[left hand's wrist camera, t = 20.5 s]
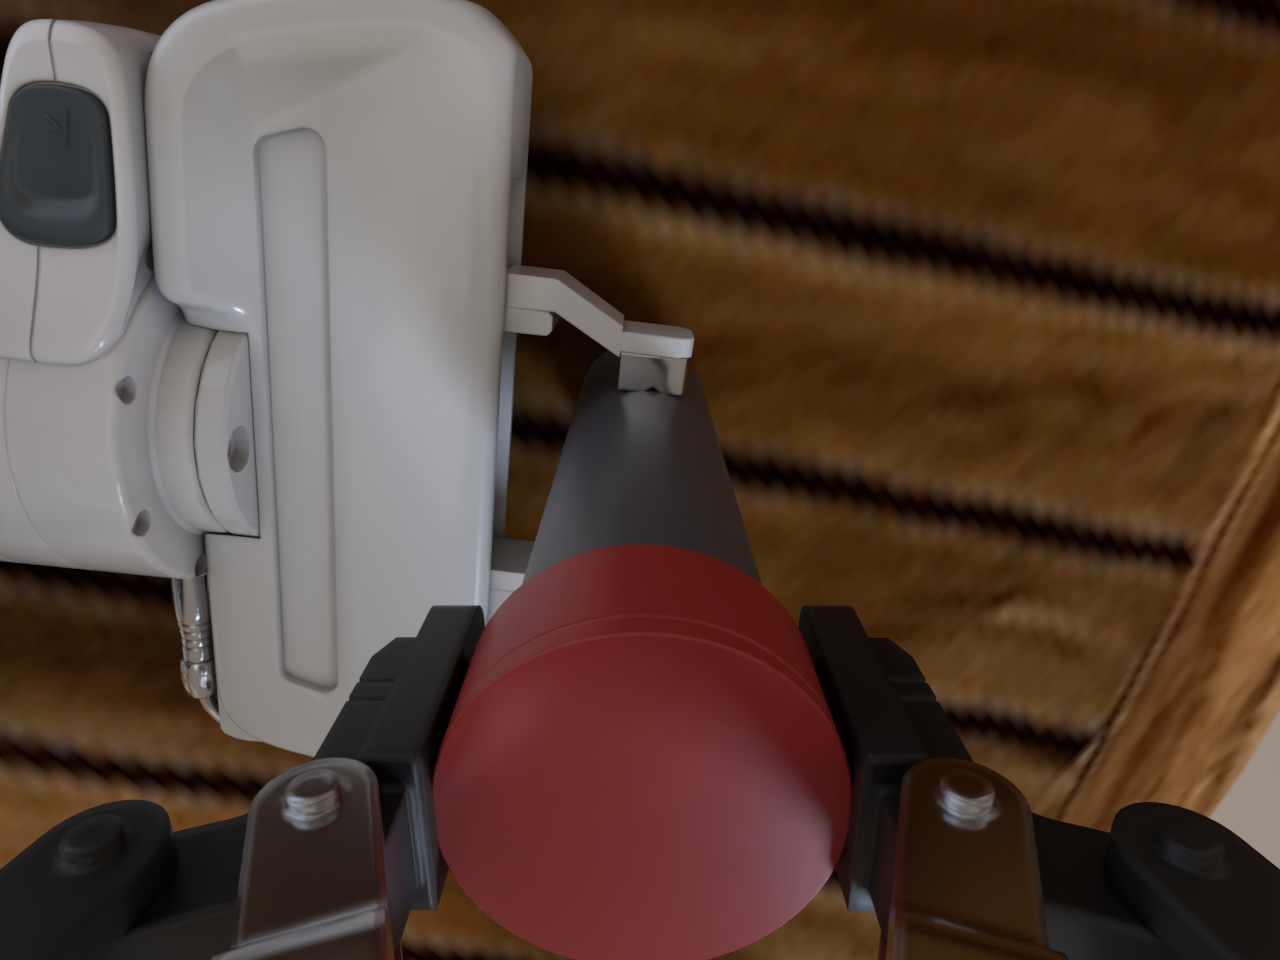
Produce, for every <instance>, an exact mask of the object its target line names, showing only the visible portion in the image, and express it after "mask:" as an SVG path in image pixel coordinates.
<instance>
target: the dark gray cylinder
mask: <svg viewBox="0 0 1280 960" xmlns="http://www.w3.org/2000/svg"><path fill="white" fill-rule="evenodd" d="M620 360H621V353H620V356H619V357H618V356H616V355H615V354H614V353H612V352H611V351H609V350H607V351H606V352H605V353H603V354H602V355H601V356H600V357H599V358H597V360H596V361H595V362H594V363H593V364H592V365H591V367H590V369H589V370H588V372H587V374H586V376H585V378H584V381H583V384H582V387H581V390H580V394H579V397H578V400H577V404H576V407H575V410H574V414H573V417H572V420H571V423H570V427H569V430H568V433H567V437H566V440H565V443H564V447H563V450H562V453H561V457H560V460H559V463H558V466H557V470H556V473H555V476H554V480H553V483H552V486H551V490H550V493H549V496H548V500H547V503H546V506H545V510H544V513H543V516H542V519H541V523H540V526H539V529H538V533H537V536H536V539H535V543H534V546H533V549H532V553H531V556H530V559H529V562H528V566H527V569H526V572H525V576H524V579H523V582H522V584H524V583H525V582H526V581H528V580H529V579H530V578H531V577H533V576H535V575H536V574H538V573H540V572H541V571H543V570H545V569H546V568H548V567H550V566H551V565H554V564H556V563H558V562H561V561H563V560H565V559H567V558H570V557H572V556H575V555H578V554H582V553H585V552H588V551H592V550H595V549H600V548H606V547H612V546H618V545H634V544H651V545H665V546H672V547H677V548H682V549H687V550H692V551H695V552H698V553H701V554H705V555H708V556H711V557H714V558H716V559H718V560H721V561H723V562H725V563H727V564H729V565H731V566H733V567H735V568H737V569H739V570H740V571H742V572H744V573H745V574H747V575H748V576H750V577H751V578H753V579H755V580H756V581H757V582H758V583H760V584H761V581H760V577H759V574H758V571H757V567H756V564H755V561H754V557H753V554H752V551H751V548H750V544H749V541H748V538H747V534H746V531H745V528H744V524H743V521H742V518H741V514H740V511H739V508H738V504H737V501H736V498H735V494H734V491H733V488H732V484H731V481H730V478H729V474H728V471H727V468H726V465H725V461H724V458H723V455H722V451H721V448H720V445H719V441H718V438H717V435H716V431H715V428H714V425H713V421H712V418H711V415H710V411H709V408H708V405H707V401H706V398H705V395H704V391H703V388H702V385H701V382H700V379H699V377H698V375H697V372H696V371H695V369H694V368H693V366H692V365H691V364H690V371H689V377H688V383H687V390H686V394H682V395H667V394H662V393H660V392H659V391H657V390H656V389H655V388H654V387H652V388H650V389H648V390H646V391H631V390H623V389H618V383H619V371H620ZM761 585H762V584H761Z"/></svg>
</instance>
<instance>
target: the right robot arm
mask: <svg viewBox="0 0 1280 960" xmlns="http://www.w3.org/2000/svg"><path fill="white" fill-rule="evenodd" d="M532 76H533V74H532V66H531V62H530V60H529V58H528V56H527V55H526V53H525V52H524V50H523V49H522V47H521V46H520V44H519V43H518V41H517V40H516V39H515V37H514V36H513V34H512V33H511V32H510V31H509V30H508V29H507V27H506V26H505V25H504V24H503V23H502V22H501V21H500V20H499V19H498V18H497V17H496V16H495V15H494V14H492V13H491V12H490V11H489V10H487V9H485V8H484V7H482V6H481V5H478V4H476V3H473V2H470V1H467V0H213V1H210V2H207V3H204V4H201V5H199V6H197V7H195V8H193V9H191V10H189V11H188V12H186V13H184V14H183V15H181V16H180V17H179V18H177V19H176V20H175V21H174V22H173V23H172V24H171V25H170V26H169V27H168V28H167V29H166V30H165V32H164V33H163V35H162V36H159V35H156V34H152V33H148V32H144V31H140V30H137V29H132V28H127V27H121V26H115V25H110V24H103V23H96V22H88V21H78V20H60V19H37V20H32V21H29V22H26V23H24V24H23V25H21V26H20V27H19V28H18V29H17V31H16V32H15V33H14V35H13V37H12V39H11V41H10V43H9V46H8V49H7V53H6V56H5V61H4V67H3V72H2V78H1V85H0V561H8V562H18V563H26V564H36V565H47V566H57V567H67V568H77V569H87V570H98V571H107V572H117V573H126V574H136V575H146V576H156V577H166V578H170V582H171V591H172V600H173V608H174V614H175V619H176V622H177V626H178V629H179V634H180V639H181V647H182V653H181V655H180V663H179V665H180V675H181V681H182V684H183V687H184V689H185V691H186V694H187V695H188V696H189V697H191V698H194V699H199V700H200V702H201V705H202V706H203V708H204V709H205V711H206V712H207V714H208V715H209V716H210V717H211V718H212V719H213V720H214V721H216V722H217V723H218V724H219V725H220V728H221V729H222V731H223V732H224V733H225V734H227V735H230V736H232V737H235V738H238V739H242V740H247V741H258V742H264V743H267V744H270V745H272V746H275V747H278V748H281V749H285V750H288V751H291V752H295V753H299V754H303V755H307V756H311V757H315V755H316V753H317V751H318V750H319V748H320V746H321V744H322V743H323V741H324V739H325V737H326V736H327V734H328V732H329V730H330V729H331V727H332V725H333V723H334V722H335V720H336V718H337V716H338V715H339V713H340V711H341V709H342V708H343V706H344V704H345V702H346V701H349V695H350V694H351V692H352V690H353V688H354V687H355V685H356V683H357V682H359V680H360V679H359V678H360V676H361V674H362V673H363V671H364V669H365V667H366V666H367V664H368V662H369V660H370V659H371V657H372V656H373V655H374V654H375V653H377V652H378V651H379V650H381V649H382V648H383V647H384V646H386V645H387V644H388V643H390V642H391V641H392V640H393V639H395V638H396V637H416V636H417V634H418V632H419V630H420V628H421V626H422V624H423V622H424V620H425V618H426V616H427V614H428V612H429V610H430V608H431V607H432V606H434V605H480V606H481V607H482V609H483V613H484V619H485V627H486V625H487V623H488V622H489V620H490V619H491V618H492V616H493V615H494V613H495V612H496V610H497V609H498V608H499V606H500V605H501V604H502V603H503V602H504V601H505V600H506V599H507V598H508V597H509V596H510V595H511V594H512V593H513V592H514V591H515V590H516V589H517V588H519V587H520V586H521V585H522V582H523V579H524V576H525V572H526V569H527V566H528V562H529V559H530V556H531V553H532V549H533V546H534V543H535V541H526V540H517V539H508V538H505V531H506V514H507V498H508V481H509V464H510V447H511V431H512V414H513V397H514V380H515V364H516V347H517V333H524V334H534V335H543V336H547V335H548V334H549V333H550V332H552V330H553V328H554V327H555V325H556V324H557V322H558V320H559V319H560V316H561V317H562V318H564V319H565V320H567V321H568V322H569V323H571V324H572V325H574V326H575V327H577V328H578V329H579V330H581V331H582V332H584V333H585V334H587V335H588V336H589V337H591V338H592V339H594V340H595V341H597V342H598V343H599V344H601V345H602V346H604V347H605V348H606V349H608V350H609V351H611V352H612V353H614V354H615V355H616V356H618V357H619V356H620V353H621V360H620V371H619V383H618V389H623V390H631V391H646V390H648V389H650V388H652V387H654V388H655V389H656V390H657V391H659V392H660V393H662V394H667V395H682V394H686V390H687V383H688V377H689V371H690V364H691V358H692V357H691V356H692V350H693V343H694V336H693V333H692V331H691V330H689V329H686V328H682V327H678V326H669V325H661V324H652V323H644V322H635V321H627V320H624V315H623V314H622V313H621V312H619V311H618V310H617V309H615V308H614V307H613V306H611V305H610V304H609V303H607V302H606V301H605V300H603V299H602V298H601V297H599V296H598V295H597V294H595V293H594V292H593V291H591V290H590V289H589V288H587V287H586V286H585V285H583V284H582V283H581V282H579V281H578V280H577V279H575V278H574V277H573V276H571V275H570V274H569V273H567V272H566V271H565V270H557V269H549V268H540V267H532V266H523V265H521V263H522V246H523V229H524V213H525V196H526V179H527V162H528V146H529V129H530V112H531V94H532ZM215 694H218V701H217V700H216V698H215V696H214V695H215Z"/></svg>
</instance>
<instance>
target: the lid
mask: <svg viewBox="0 0 1280 960" xmlns="http://www.w3.org/2000/svg"><path fill="white" fill-rule="evenodd" d="M432 789H433V799H434V808H435V817H436V826H437V835H438V842H439V848H440V851H441V854H442V857H443V858H444V860H445V862H446V864H447V866H448V868H449V870H450V872H451V873H452V875H453V877H454V878H455V880H456V881H457V882H458V884H459V885H460V886H461V888H462V889H463V890H464V892H465V893H466V894H467V895H468V896H469V897H470V899H471V900H472V901H473V902H474V903H475V904H476V905H477V906H478V907H479V908H480V909H481V910H482V911H483V912H485V913H486V914H487V915H488V916H489V917H491V918H492V919H493V920H494V921H496V922H497V923H498V924H499V925H501V926H502V927H504V928H505V929H507V930H509V931H510V932H512V933H513V934H515V935H516V936H518V937H520V938H522V939H524V940H526V941H528V942H530V943H532V944H534V945H536V946H538V947H540V948H542V949H545V950H548V951H550V952H553V953H556V954H559V955H561V956H564V957H567V958H571V959H575V960H708V959H713V958H716V957H719V956H722V955H725V954H727V953H730V952H733V951H736V950H739V949H741V948H743V947H745V946H747V945H749V944H752V943H754V942H756V941H758V940H760V939H762V938H763V937H765V936H767V935H768V934H770V933H772V932H773V931H775V930H777V929H778V928H780V927H781V926H782V925H784V924H785V923H786V922H788V921H789V920H790V919H791V918H793V917H794V916H795V915H797V914H798V913H799V912H800V911H801V910H802V909H803V908H804V907H805V906H806V905H807V904H808V903H809V902H810V901H811V900H812V899H813V898H814V897H815V896H816V895H817V893H818V892H819V891H820V889H821V888H822V887H823V886H824V884H825V883H826V882H827V880H828V879H829V877H830V876H831V874H832V872H833V870H834V869H835V867H836V865H837V863H838V862H839V860H840V857H841V855H842V852H843V850H844V847H845V844H846V839H847V832H848V824H849V815H850V807H851V797H852V776H851V770H850V767H849V763H848V760H847V756H846V753H845V749H844V747H843V744H842V741H841V738H840V736H839V733H838V731H837V727H836V725H835V722H834V719H833V716H832V714H831V711H830V708H829V705H828V703H827V700H826V697H825V694H824V692H823V689H822V686H821V683H820V681H819V678H818V675H817V672H816V670H815V667H814V664H813V661H812V659H811V656H810V653H809V650H808V648H807V645H806V643H805V641H804V639H803V637H802V635H801V632H800V630H799V628H798V627H797V625H796V623H795V622H794V620H793V619H792V617H791V616H790V614H789V613H788V611H787V610H786V609H785V608H784V607H783V606H782V604H781V603H780V602H779V601H778V600H777V599H776V598H775V597H774V596H773V594H771V593H770V592H769V591H768V590H767V589H765V588H764V587H763V586H762V585H761V584H760V583H758V582H757V581H756V580H755V579H753V578H751V577H750V576H748V575H747V574H745V573H744V572H742V571H740V570H739V569H737V568H735V567H733V566H731V565H729V564H727V563H725V562H723V561H721V560H718V559H716V558H714V557H711V556H708V555H705V554H701V553H698V552H695V551H692V550H687V549H682V548H677V547H672V546H665V545H651V544H634V545H618V546H612V547H606V548H600V549H595V550H592V551H588V552H585V553H582V554H578V555H575V556H572V557H570V558H567V559H565V560H563V561H561V562H558V563H556V564H554V565H551V566H550V567H548V568H546V569H545V570H543V571H541V572H540V573H538V574H536V575H535V576H533V577H531V578H530V579H529V580H528V581H526V582H525V583H524V584H522V585H521V586H520V587H519V588H517V589H516V590H515V591H514V592H513V593H512V594H511V595H510V596H509V597H508V598H507V599H506V600H505V601H504V602H503V603H502V604H501V605H500V606H499V608H498V609H497V610H496V612H495V613H494V615H493V616H492V618H491V619H490V620H489V622H488V623H487V625H486V627H485V629H484V631H483V633H482V635H481V637H480V639H479V640H478V643H477V645H476V648H475V651H474V654H473V657H472V659H471V662H470V665H469V668H468V671H467V673H466V676H465V679H464V682H463V685H462V687H461V690H460V693H459V696H458V699H457V701H456V704H455V707H454V710H453V713H452V716H451V718H450V721H449V724H448V727H447V730H446V732H445V735H444V738H443V741H442V744H441V746H440V750H439V753H438V756H437V759H436V762H435V765H434V768H433V775H432Z"/></svg>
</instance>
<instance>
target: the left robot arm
mask: <svg viewBox="0 0 1280 960" xmlns="http://www.w3.org/2000/svg"><path fill="white" fill-rule="evenodd" d="M484 629H485V619H484V613H483V609H482V607H481V606H480V605H434V606H432V607H431V608H430V610H429V612H428V614H427V616H426V618H425V620H424V622H423V624H422V626H421V628H420V630H419V632H418V634H417V636H416V637H396V638H395V639H393V640H392V641H391V642H390V643H388V644H387V645H386V646H384V647H383V648H382V649H381V650H379V651H378V652H377V653H375V654H374V655H373V656H372V657H371V659H370V660H369V662H368V664H367V666H366V667H365V669H364V671H363V673H362V674H361V676H360V678H359V679H360V680H359V682H357V683H356V685H355V687H354V688H353V690H352V692H351V694H350V695H349V701H346V702H345V704H344V706H343V708H342V709H341V711H340V713H339V715H338V716H337V718H336V720H335V722H334V723H333V725H332V727H331V729H330V730H329V732H328V734H327V736H326V737H325V739H324V741H323V743H322V744H321V746H320V748H319V750H318V751H317V753H316V755H315V757H314V758H313V760H312V761H310V762H306V763H303V764H300V765H298V766H295V767H293V768H291V769H289V770H287V771H285V772H283V773H282V774H280V775H278V776H277V777H275V778H274V779H273V780H271V781H270V782H269V783H267V784H266V785H265V786H264V787H263V788H262V789H261V790H260V791H259V793H258V794H257V795H256V797H255V798H254V800H253V802H252V804H251V806H250V809H249V813H247V814H245V815H242V816H239V817H235V818H232V819H228V820H224V821H219V822H215V823H211V824H206V825H202V826H198V827H193V828H189V829H185V830H180V831H176V832H173V830H172V826H171V822H170V818H169V816H168V814H167V812H166V811H165V810H164V808H163V807H161V806H159V805H158V804H156V803H153V802H150V801H144V800H123V801H116V802H111V803H107V804H103V805H100V806H97V807H93V808H90V809H88V810H86V811H83V812H81V813H78V814H76V815H74V816H72V817H70V818H68V819H66V820H65V821H63V822H61V823H60V824H58V825H56V826H55V827H53V828H52V829H51V830H49V831H48V832H46V833H45V834H44V835H42V836H41V837H40V838H39V839H37V840H36V841H35V842H34V843H32V844H31V845H30V846H29V847H27V848H26V849H25V850H24V851H23V852H21V853H20V854H19V855H18V856H16V857H15V858H14V859H13V860H11V861H10V862H9V863H8V864H6V865H5V866H4V867H3V868H1V869H0V960H403V956H402V949H401V942H400V940H401V937H402V934H403V931H404V928H405V925H406V922H407V919H408V915H409V912H410V910H437V908H438V905H439V901H440V897H441V894H442V890H443V887H444V883H445V880H446V876H447V872H448V869H449V868H448V866H447V864H446V862H445V860H444V858H443V857H442V854H441V851H440V848H439V842H438V835H437V826H436V817H435V808H434V799H433V789H432V775H433V768H434V765H435V762H436V759H437V756H438V753H439V750H440V746H441V744H442V741H443V738H444V735H445V732H446V730H447V727H448V724H449V721H450V718H451V716H452V713H453V710H454V707H455V704H456V701H457V699H458V696H459V693H460V690H461V687H462V685H463V682H464V679H465V676H466V673H467V671H468V668H469V665H470V662H471V659H472V657H473V654H474V651H475V648H476V645H477V643H478V640H479V639H480V637H481V635H482V633H483V631H484ZM799 630H800V632H801V635H802V637H803V639H804V641H805V643H806V645H807V648H808V650H809V653H810V656H811V659H812V661H813V664H814V667H815V670H816V672H817V675H818V678H819V681H820V683H821V686H822V689H823V692H824V694H825V697H826V700H827V703H828V705H829V708H830V711H831V714H832V716H833V719H834V722H835V725H836V727H837V731H838V733H839V736H840V738H841V741H842V744H843V747H844V749H845V753H846V756H847V760H848V763H849V767H850V770H851V776H852V797H851V807H850V815H849V824H848V832H847V839H846V844H845V847H844V850H843V852H842V855H841V857H840V860H839V862H838V863H837V865H836V871H837V874H838V878H839V881H840V884H841V888H842V891H843V895H844V898H845V902H846V905H847V909H848V911H875V912H876V915H877V918H878V921H879V924H880V927H881V935H880V942H879V949H878V957H877V960H1280V869H1279V868H1277V867H1276V866H1275V865H1274V864H1272V863H1271V862H1270V861H1269V860H1267V859H1266V858H1265V857H1264V856H1262V855H1261V854H1260V853H1259V852H1257V851H1256V850H1255V849H1254V848H1252V847H1251V846H1250V845H1249V844H1247V843H1246V842H1245V841H1244V840H1243V839H1241V838H1240V837H1239V836H1237V835H1236V834H1234V833H1233V832H1232V831H1231V830H1229V829H1227V828H1226V827H1224V826H1223V825H1221V824H1219V823H1218V822H1216V821H1214V820H1212V819H1210V818H1208V817H1206V816H1204V815H1201V814H1199V813H1196V812H1194V811H1191V810H1188V809H1185V808H1182V807H1179V806H1174V805H1170V804H1164V803H1157V802H1142V803H1134V804H1131V805H1128V806H1126V807H1124V808H1122V809H1121V810H1120V811H1119V812H1118V813H1117V814H1116V815H1115V818H1114V820H1113V824H1112V827H1111V831H1110V833H1108V832H1104V831H1100V830H1095V829H1091V828H1087V827H1082V826H1078V825H1074V824H1069V823H1065V822H1061V821H1057V820H1053V819H1050V818H1046V817H1043V816H1040V815H1038V814H1035V813H1032V812H1031V809H1030V806H1029V804H1028V802H1027V800H1026V798H1025V797H1024V795H1023V794H1022V793H1021V791H1020V790H1019V789H1018V788H1017V787H1016V786H1015V785H1014V784H1013V783H1011V782H1010V781H1009V780H1007V779H1006V778H1005V777H1003V776H1002V775H1000V774H999V773H997V772H995V771H993V770H991V769H989V768H987V767H985V766H982V765H980V764H977V763H974V762H973V760H972V759H971V757H970V755H969V753H968V752H967V750H966V748H965V747H964V745H963V743H962V741H961V740H960V738H959V736H958V734H957V733H956V731H955V729H954V728H953V726H952V724H951V722H950V721H949V719H948V717H947V716H946V714H945V712H944V710H943V709H942V707H941V705H940V703H939V702H936V697H935V695H934V693H933V691H932V690H931V688H930V686H929V684H928V683H925V678H924V676H923V674H922V672H921V671H920V669H919V667H918V666H917V664H916V662H915V660H914V659H913V657H912V656H911V655H909V654H908V653H907V652H905V651H904V650H903V649H902V648H900V647H899V646H898V645H896V644H895V643H894V642H892V641H891V640H890V639H889V638H868V636H867V634H866V632H865V630H864V628H863V626H862V624H861V622H860V620H859V618H858V616H857V614H856V612H855V610H854V609H853V607H851V606H803V608H802V610H801V613H800V620H799Z"/></svg>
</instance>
